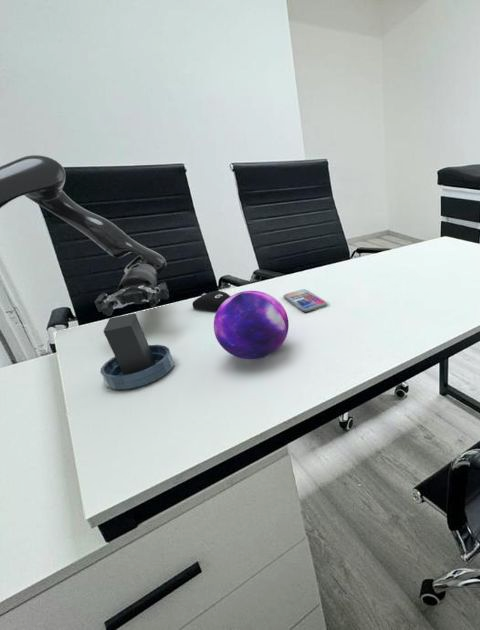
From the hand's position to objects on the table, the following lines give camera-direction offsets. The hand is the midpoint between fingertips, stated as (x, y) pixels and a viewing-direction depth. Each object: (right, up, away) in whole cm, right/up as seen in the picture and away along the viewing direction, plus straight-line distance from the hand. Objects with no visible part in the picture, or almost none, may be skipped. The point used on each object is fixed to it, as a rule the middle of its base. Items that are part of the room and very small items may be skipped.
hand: (129, 307), depth 88 cm
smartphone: (+33, +2, +25) cm, 41 cm away
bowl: (+7, -14, -5) cm, 17 cm away
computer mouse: (+7, +1, +25) cm, 26 cm away
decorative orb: (+30, -11, 0) cm, 32 cm away
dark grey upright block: (+7, -14, -5) cm, 16 cm away
